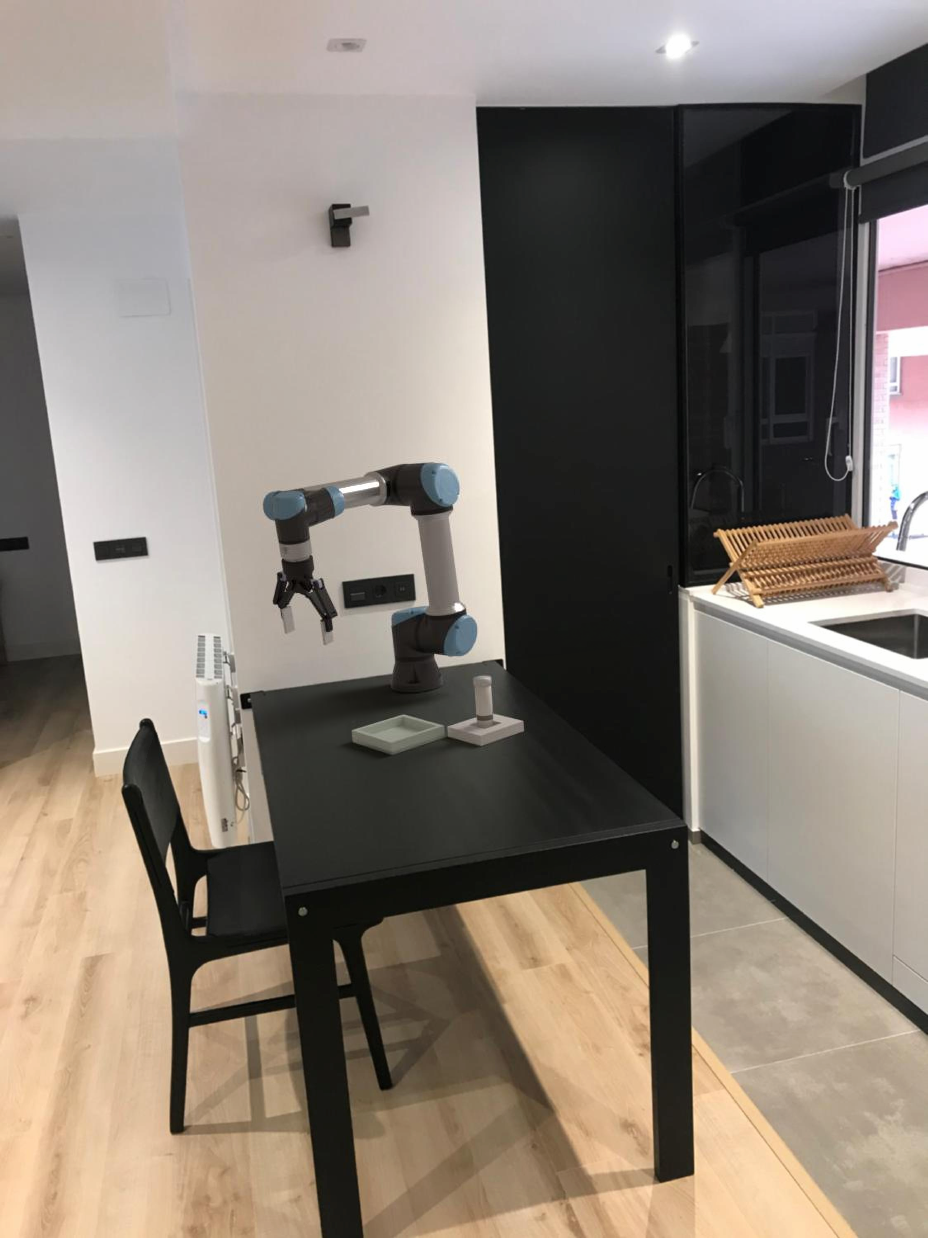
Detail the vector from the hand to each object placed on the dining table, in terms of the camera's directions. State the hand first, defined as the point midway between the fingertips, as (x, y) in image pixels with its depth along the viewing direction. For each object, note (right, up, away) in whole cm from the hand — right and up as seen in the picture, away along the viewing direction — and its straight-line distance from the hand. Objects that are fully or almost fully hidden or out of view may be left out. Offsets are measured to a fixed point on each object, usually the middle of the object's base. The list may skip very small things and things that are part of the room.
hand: (309, 637), depth 248 cm
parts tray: (+22, -25, -4) cm, 34 cm away
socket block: (+44, -23, -4) cm, 50 cm away
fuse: (+44, -23, -4) cm, 50 cm away
